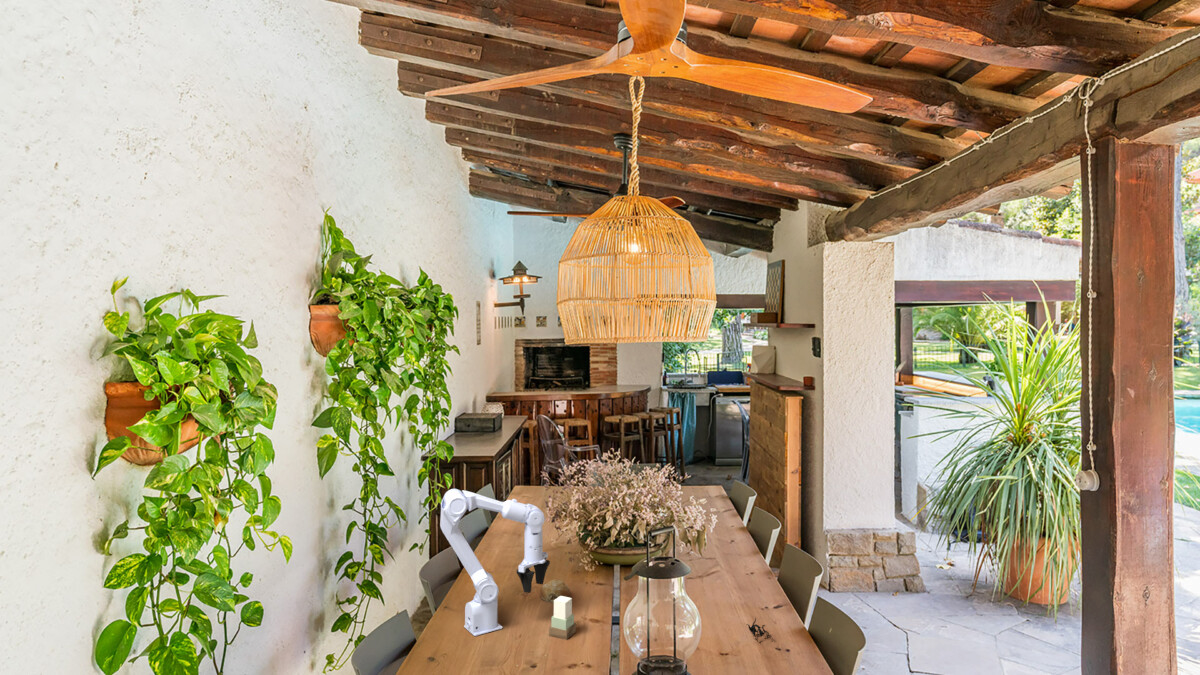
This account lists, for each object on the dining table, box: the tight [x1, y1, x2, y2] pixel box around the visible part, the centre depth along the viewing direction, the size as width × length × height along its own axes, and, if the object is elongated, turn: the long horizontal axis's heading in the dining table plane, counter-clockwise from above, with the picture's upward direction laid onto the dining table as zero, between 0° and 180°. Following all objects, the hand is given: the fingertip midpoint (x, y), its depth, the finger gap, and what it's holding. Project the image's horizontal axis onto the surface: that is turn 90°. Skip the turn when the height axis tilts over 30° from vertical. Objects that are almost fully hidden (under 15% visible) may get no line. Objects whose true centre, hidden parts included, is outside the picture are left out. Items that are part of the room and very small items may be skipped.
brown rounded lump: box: [539, 578, 570, 604], centre depth 227 cm, size 10×10×8 cm
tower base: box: [548, 622, 577, 641], centre depth 199 cm, size 6×6×3 cm
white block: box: [553, 596, 573, 619], centre depth 199 cm, size 4×4×5 cm
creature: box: [746, 617, 774, 643], centre depth 197 cm, size 8×5×8 cm
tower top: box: [550, 613, 575, 630], centre depth 199 cm, size 5×5×3 cm
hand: (533, 587), depth 208 cm, fingers open, 7 cm apart
